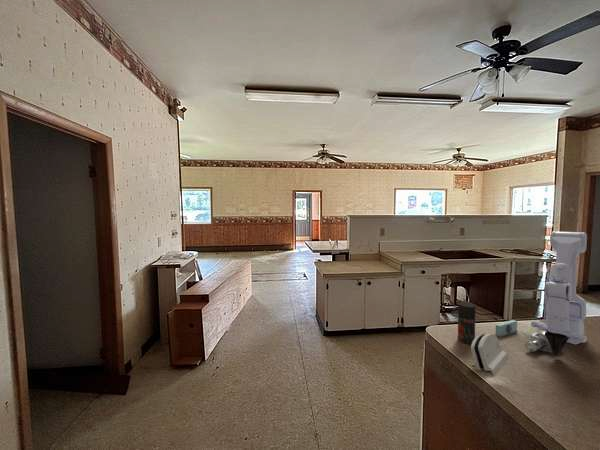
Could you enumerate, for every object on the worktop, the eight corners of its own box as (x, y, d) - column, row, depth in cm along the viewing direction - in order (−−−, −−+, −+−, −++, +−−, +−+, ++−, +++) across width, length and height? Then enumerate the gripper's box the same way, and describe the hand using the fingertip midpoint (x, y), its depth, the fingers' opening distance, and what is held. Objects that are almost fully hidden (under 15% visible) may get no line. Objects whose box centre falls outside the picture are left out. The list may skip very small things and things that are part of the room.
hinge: (494, 376, 86) (482, 343, 88) (478, 374, 90) (467, 343, 92) (509, 357, 97) (498, 328, 99) (494, 357, 100) (484, 329, 102)
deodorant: (476, 345, 106) (477, 307, 105) (459, 343, 108) (459, 306, 107) (472, 338, 111) (472, 302, 111) (456, 336, 113) (456, 301, 113)
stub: (538, 340, 109) (538, 327, 109) (564, 349, 101) (564, 335, 101) (526, 344, 106) (527, 331, 105) (552, 354, 98) (552, 339, 98)
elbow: (539, 340, 108) (539, 331, 108) (562, 348, 102) (562, 338, 102) (519, 347, 103) (519, 337, 103) (541, 356, 96) (541, 345, 96)
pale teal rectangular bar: (512, 329, 119) (512, 319, 119) (517, 331, 117) (517, 321, 117) (495, 335, 114) (495, 324, 114) (500, 336, 113) (500, 326, 113)
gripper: (526, 311, 100) (526, 347, 101) (579, 325, 87) (578, 366, 87) (537, 308, 103) (537, 343, 103) (590, 321, 90) (589, 362, 90)
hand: (556, 353), depth 96 cm, fingers closed
